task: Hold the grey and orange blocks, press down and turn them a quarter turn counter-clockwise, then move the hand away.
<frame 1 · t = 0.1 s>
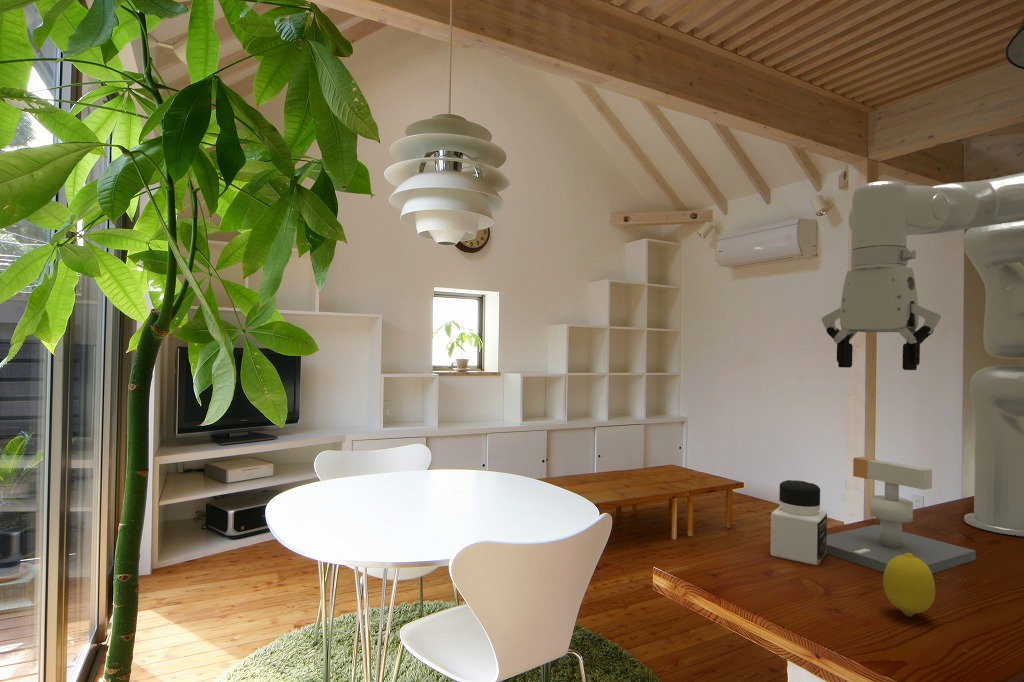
hand: (876, 368, 96), 31 cm above the table, fingers open, 9 cm apart
coupling base: (890, 553, 100), on the table
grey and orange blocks: (890, 490, 101), point 11 cm above the table, hinge at 0.0°
medicine bottle: (798, 556, 99), on the table
lemon: (908, 617, 76), on the table
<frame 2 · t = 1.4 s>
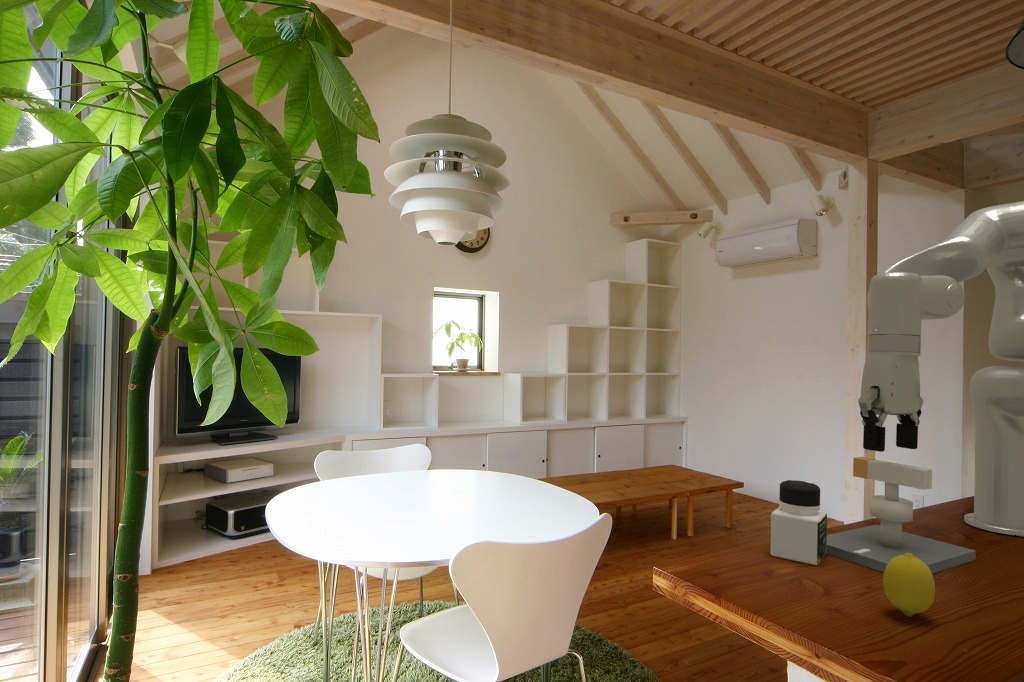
hand: (890, 449, 100), 17 cm above the table, fingers open, 9 cm apart
nothing on the table moved.
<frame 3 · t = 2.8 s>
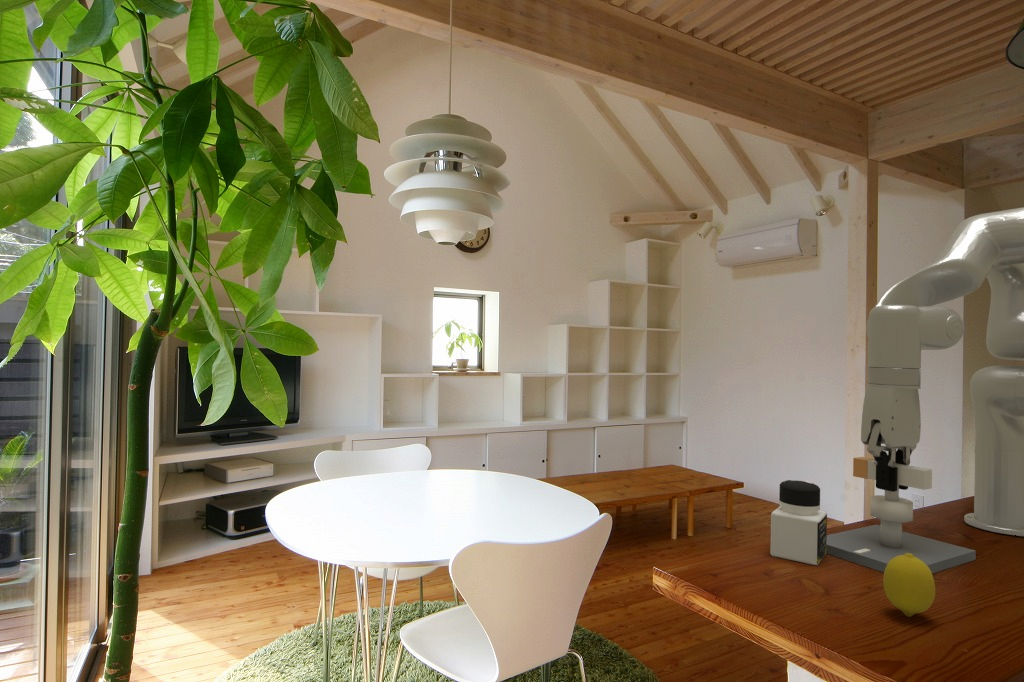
hand: (891, 487, 100), 11 cm above the table, fingers closed on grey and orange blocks, 2 cm apart
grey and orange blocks: (890, 490, 101), point 11 cm above the table, hinge at 0.0°, touching gripper
everything else where it was.
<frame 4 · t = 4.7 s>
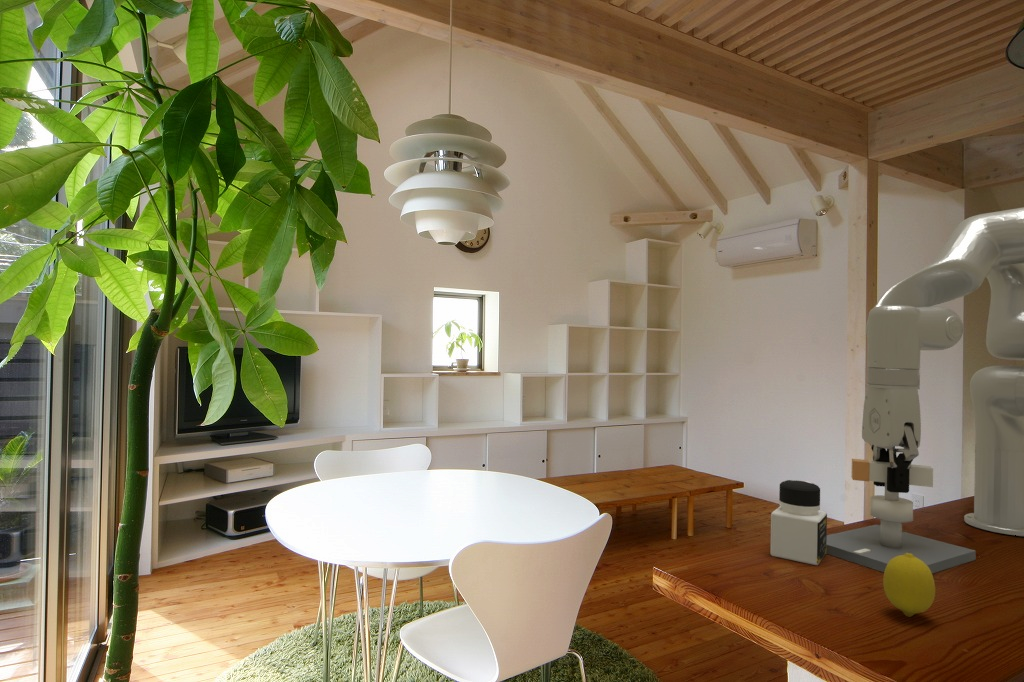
hand: (890, 487, 100), 11 cm above the table, fingers closed on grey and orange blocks, 3 cm apart
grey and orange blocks: (890, 490, 101), point 11 cm above the table, hinge at 35.8°, touching gripper
everything else where it was.
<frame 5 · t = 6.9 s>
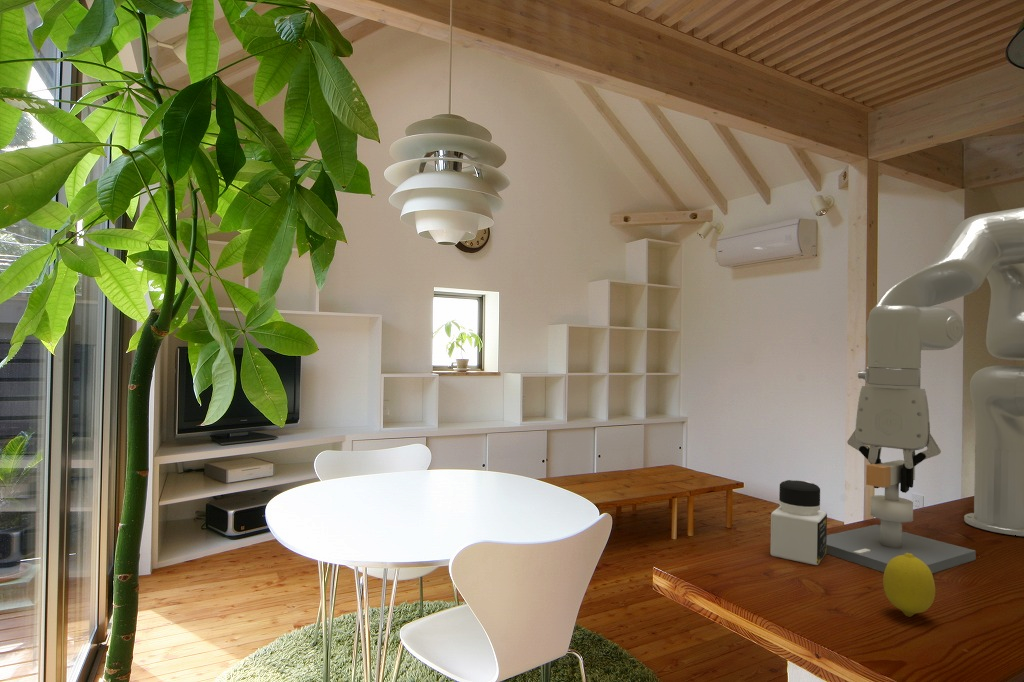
hand: (891, 488, 100), 11 cm above the table, fingers closed on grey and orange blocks, 3 cm apart
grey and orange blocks: (891, 490, 100), point 11 cm above the table, hinge at 94.1°, touching gripper
everything else where it was.
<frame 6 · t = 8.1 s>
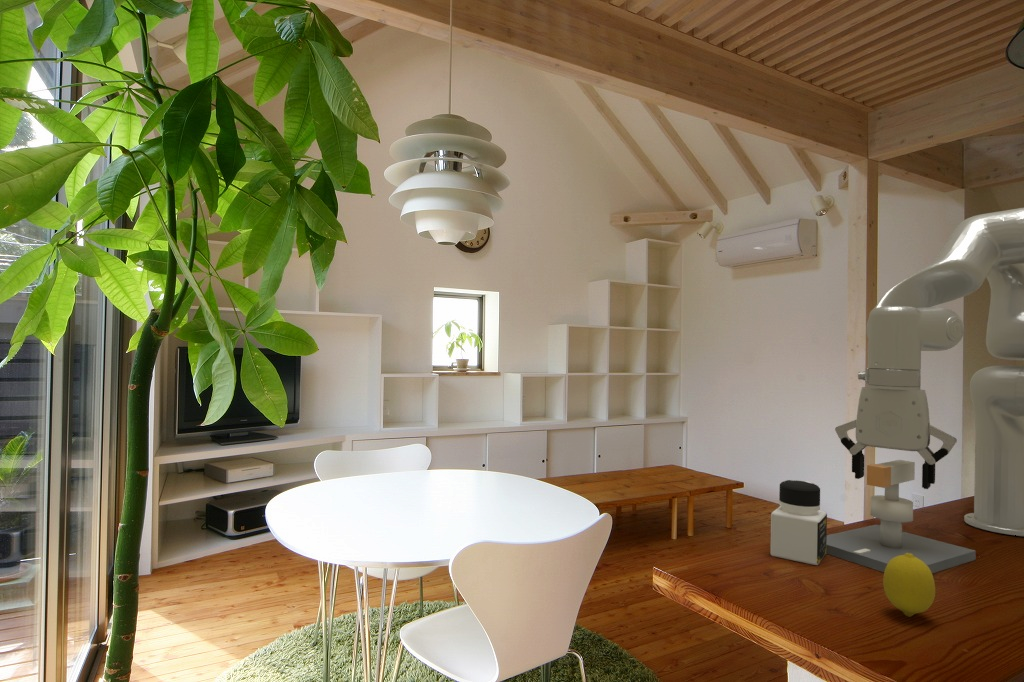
hand: (891, 482, 100), 12 cm above the table, fingers open, 9 cm apart
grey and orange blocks: (891, 490, 100), point 11 cm above the table, hinge at 95.0°
everything else where it was.
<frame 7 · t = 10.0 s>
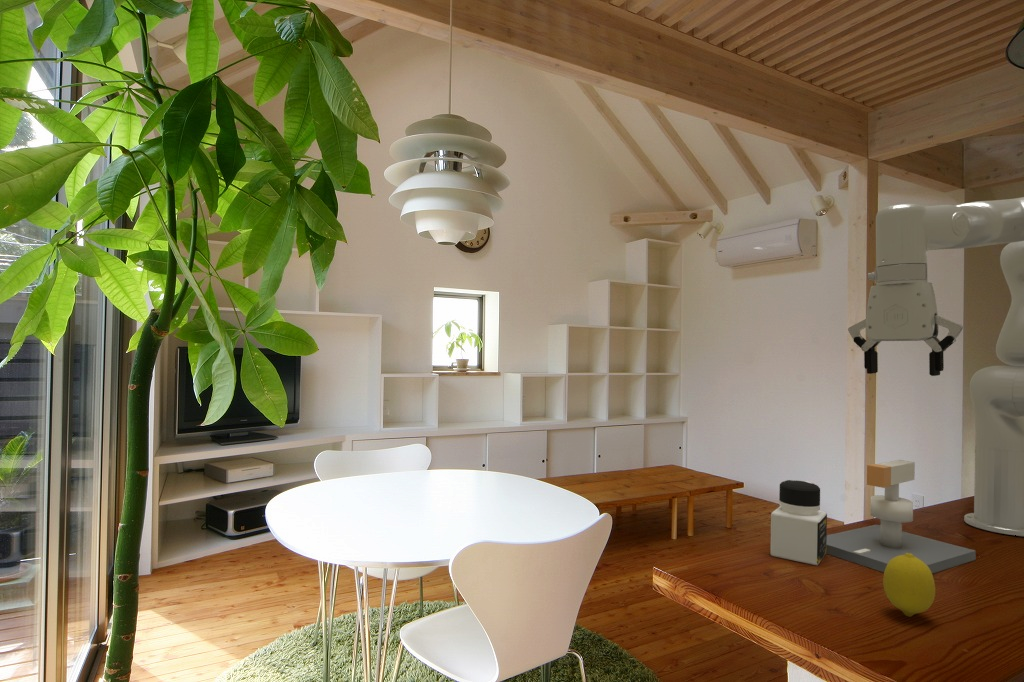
hand: (902, 374, 105), 30 cm above the table, fingers open, 9 cm apart
nothing on the table moved.
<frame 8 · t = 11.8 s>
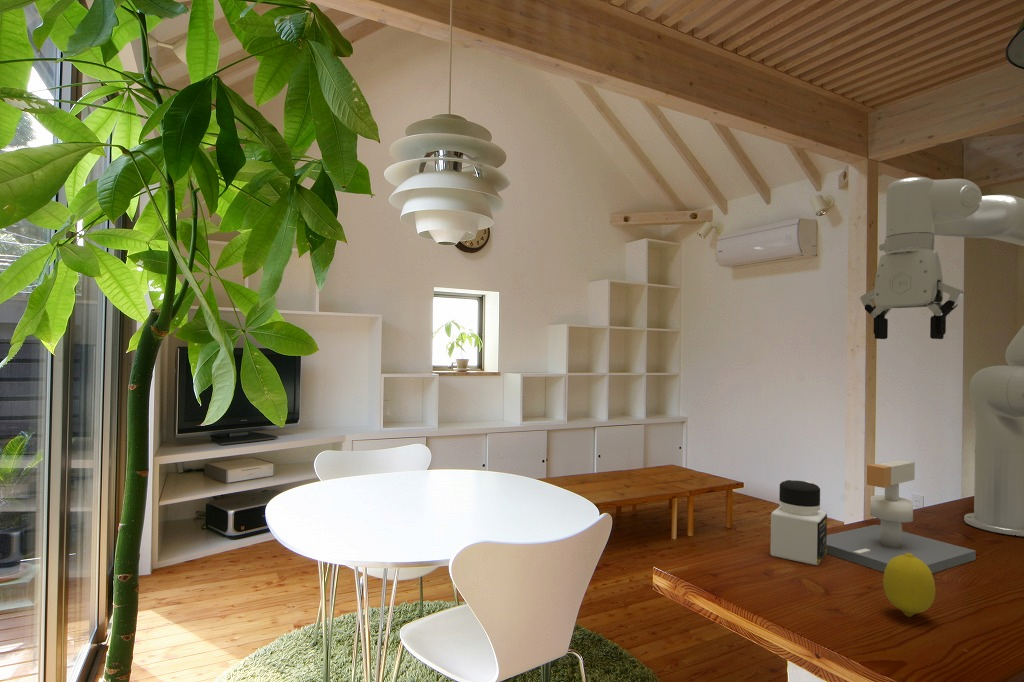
hand: (907, 338, 111), 36 cm above the table, fingers open, 9 cm apart
nothing on the table moved.
at the end: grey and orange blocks at +95° (first picture: +0°); the gripper is holding nothing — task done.
